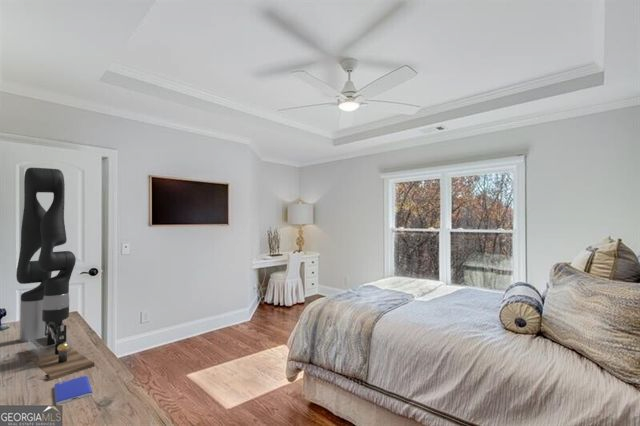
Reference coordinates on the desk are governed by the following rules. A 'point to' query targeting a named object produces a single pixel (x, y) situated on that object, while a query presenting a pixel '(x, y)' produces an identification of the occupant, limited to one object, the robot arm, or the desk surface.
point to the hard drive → (72, 389)
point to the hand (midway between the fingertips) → (54, 351)
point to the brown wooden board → (62, 364)
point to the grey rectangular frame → (43, 348)
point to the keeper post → (62, 352)
